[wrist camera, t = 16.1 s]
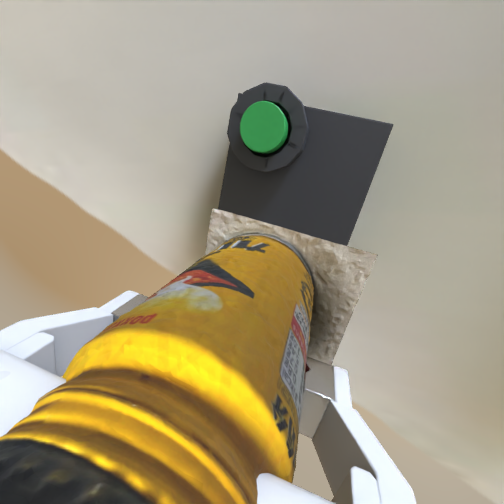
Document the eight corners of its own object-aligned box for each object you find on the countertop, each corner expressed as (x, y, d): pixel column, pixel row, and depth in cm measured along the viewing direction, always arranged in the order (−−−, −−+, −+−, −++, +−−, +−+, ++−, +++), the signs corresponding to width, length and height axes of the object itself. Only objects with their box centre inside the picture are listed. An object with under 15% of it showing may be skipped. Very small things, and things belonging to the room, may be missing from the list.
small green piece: (250, 101, 21) (244, 96, 19) (293, 110, 20) (291, 105, 19) (241, 148, 22) (235, 146, 21) (281, 158, 22) (278, 157, 20)
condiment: (213, 207, 14) (-248, 371, 3) (377, 253, 12) (838, 1048, 1) (195, 319, 16) (-75, 631, 5) (328, 368, 15) (331, 945, 4)
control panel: (252, 95, 26) (233, 76, 20) (385, 122, 24) (404, 108, 18) (223, 247, 32) (201, 264, 26) (327, 280, 30) (327, 306, 24)
